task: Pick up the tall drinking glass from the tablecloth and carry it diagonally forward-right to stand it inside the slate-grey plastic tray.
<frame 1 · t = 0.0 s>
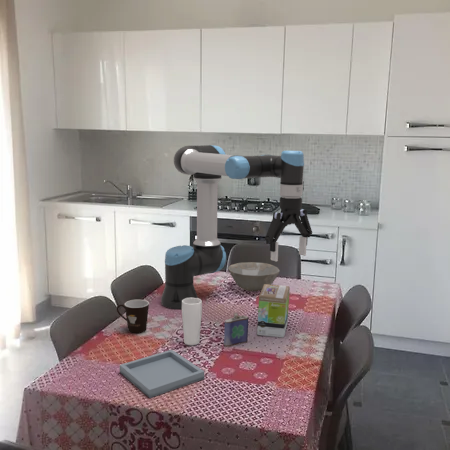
hand: (288, 257, 174), 28 cm above the table, fingers open, 13 cm apart
coffee mug: (134, 329, 182), on the table
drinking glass: (191, 343, 170), on the table
ceramic bowl: (253, 289, 228), on the table
tea box: (272, 329, 184), on the table
flask: (235, 343, 171), on the table
tray: (161, 375, 148), on the table
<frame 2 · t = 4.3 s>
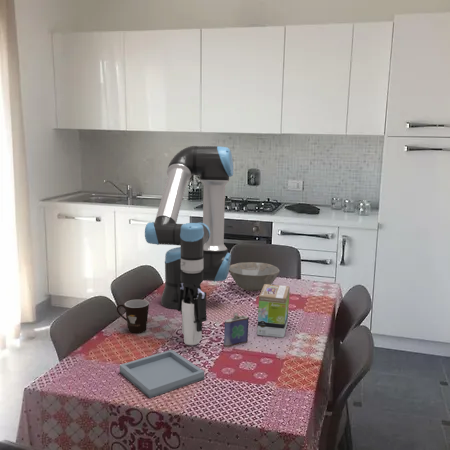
hand: (191, 336, 170), 2 cm above the table, fingers closed on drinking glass, 6 cm apart
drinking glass: (191, 343, 170), on the table, touching gripper
everything else where it was.
when the fingers open (4 cm above the table, at t = 10.2 s): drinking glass drops 1 cm, resting on tray.
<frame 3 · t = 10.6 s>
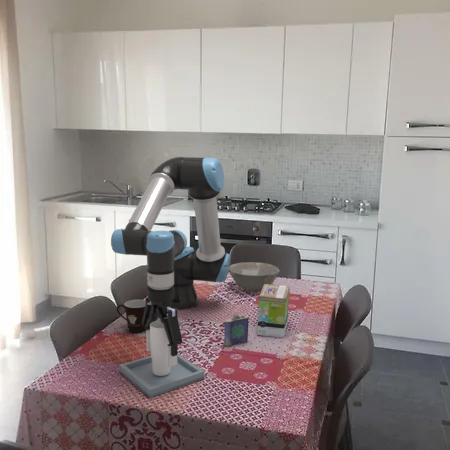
hand: (161, 357, 146), 6 cm above the table, fingers open, 11 cm apart
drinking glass: (161, 373, 147), point 1 cm above the table, touching tray
everything else where it was.
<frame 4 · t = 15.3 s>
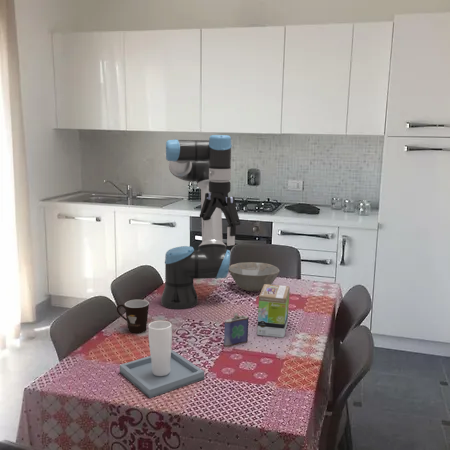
hand: (218, 241, 176), 33 cm above the table, fingers open, 13 cm apart
nothing on the table moved.
at the end: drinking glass inside the target area on the tray (0.1 cm from its centre), point 0.6 cm above the tray's base; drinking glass tilted 0°; the gripper is holding nothing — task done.
